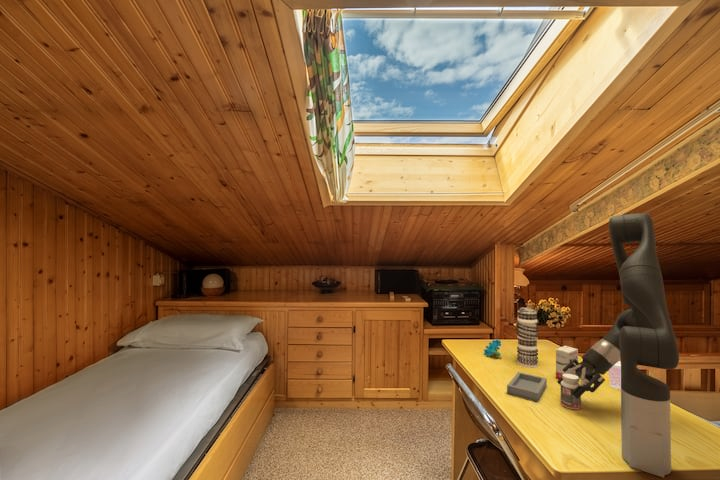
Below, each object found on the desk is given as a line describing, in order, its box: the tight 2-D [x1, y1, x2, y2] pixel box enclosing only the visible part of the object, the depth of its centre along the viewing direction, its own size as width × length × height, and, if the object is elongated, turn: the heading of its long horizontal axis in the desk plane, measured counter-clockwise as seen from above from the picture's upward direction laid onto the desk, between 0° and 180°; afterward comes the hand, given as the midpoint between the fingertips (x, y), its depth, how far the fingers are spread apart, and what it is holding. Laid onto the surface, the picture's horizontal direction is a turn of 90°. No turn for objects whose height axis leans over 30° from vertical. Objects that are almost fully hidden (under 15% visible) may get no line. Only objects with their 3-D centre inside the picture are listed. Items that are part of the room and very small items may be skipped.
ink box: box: [555, 345, 579, 380], centre depth 132 cm, size 8×5×12 cm, turn 123°
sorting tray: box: [506, 371, 548, 403], centre depth 121 cm, size 16×10×3 cm, turn 141°
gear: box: [483, 338, 502, 360], centre depth 158 cm, size 11×6×10 cm
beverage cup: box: [608, 360, 621, 391], centre depth 123 cm, size 6×6×14 cm
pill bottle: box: [560, 374, 582, 410], centre depth 109 cm, size 6×6×10 cm
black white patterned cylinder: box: [515, 306, 540, 368], centre depth 148 cm, size 9×9×25 cm
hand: (566, 390), depth 109 cm, fingers open, 8 cm apart
